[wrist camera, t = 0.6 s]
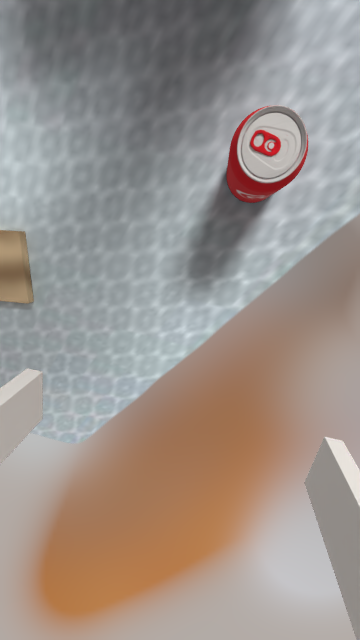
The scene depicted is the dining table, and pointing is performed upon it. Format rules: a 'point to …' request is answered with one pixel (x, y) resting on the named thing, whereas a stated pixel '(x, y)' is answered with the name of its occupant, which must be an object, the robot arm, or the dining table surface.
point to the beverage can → (266, 153)
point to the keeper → (14, 268)
